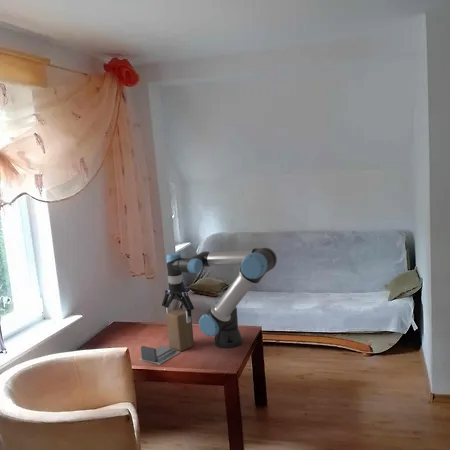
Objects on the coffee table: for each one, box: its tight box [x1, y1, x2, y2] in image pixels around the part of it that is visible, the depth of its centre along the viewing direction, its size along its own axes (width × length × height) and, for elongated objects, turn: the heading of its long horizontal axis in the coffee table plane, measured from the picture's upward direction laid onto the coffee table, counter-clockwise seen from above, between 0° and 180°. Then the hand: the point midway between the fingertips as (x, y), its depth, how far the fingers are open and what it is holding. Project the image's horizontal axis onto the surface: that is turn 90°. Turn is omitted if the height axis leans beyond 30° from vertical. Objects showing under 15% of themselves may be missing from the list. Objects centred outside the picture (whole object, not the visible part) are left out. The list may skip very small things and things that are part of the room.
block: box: [165, 308, 195, 352], centre depth 292 cm, size 10×10×20 cm
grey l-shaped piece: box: [138, 345, 181, 365], centre depth 283 cm, size 14×17×8 cm
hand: (178, 320), depth 291 cm, fingers open, 13 cm apart
